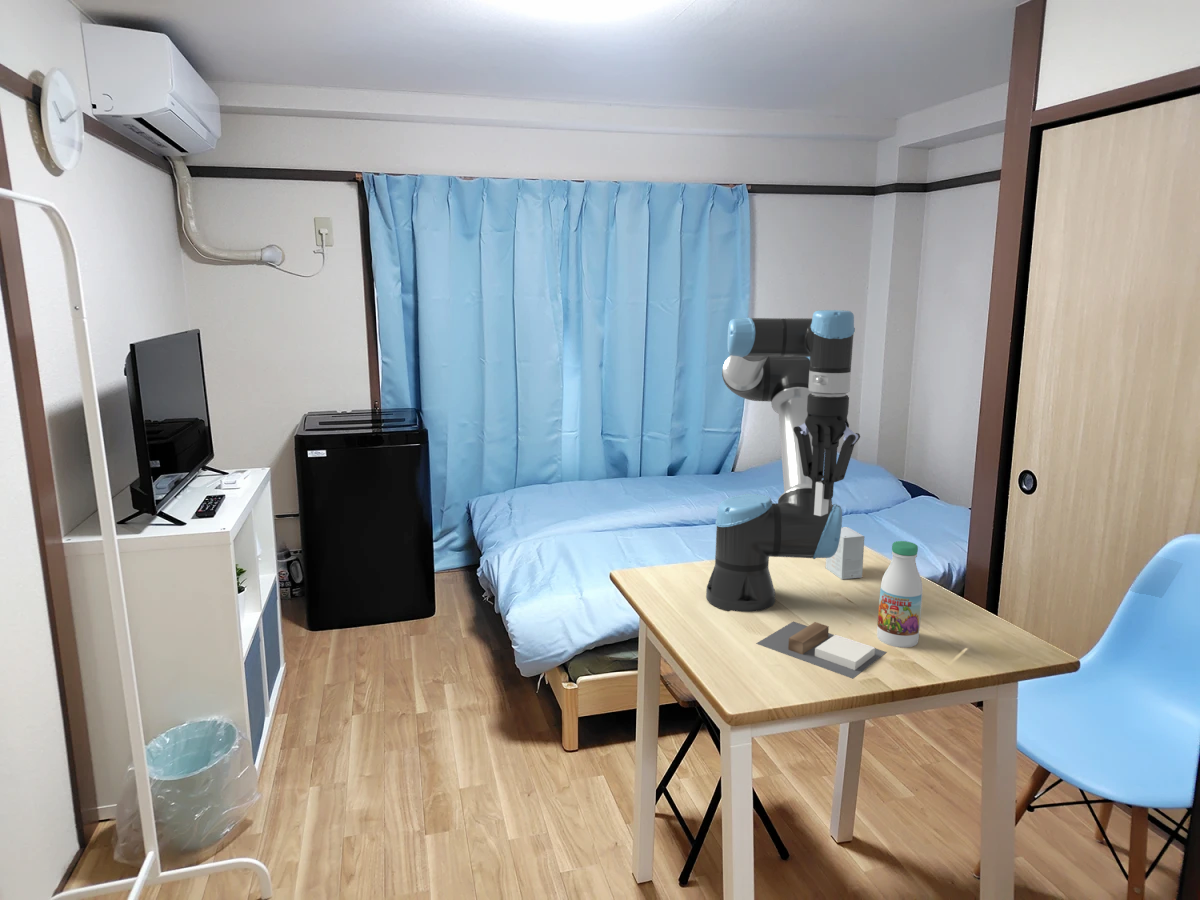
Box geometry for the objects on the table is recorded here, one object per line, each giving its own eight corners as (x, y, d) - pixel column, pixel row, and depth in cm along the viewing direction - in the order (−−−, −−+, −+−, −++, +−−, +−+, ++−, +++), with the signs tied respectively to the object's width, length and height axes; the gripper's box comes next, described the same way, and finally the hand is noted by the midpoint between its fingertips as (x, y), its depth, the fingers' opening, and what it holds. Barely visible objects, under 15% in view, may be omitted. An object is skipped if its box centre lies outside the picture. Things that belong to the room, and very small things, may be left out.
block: (788, 649, 149) (788, 637, 148) (814, 633, 156) (814, 621, 156) (802, 654, 147) (803, 642, 146) (828, 637, 154) (828, 626, 153)
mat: (756, 645, 152) (756, 643, 152) (793, 623, 162) (793, 621, 161) (852, 680, 138) (852, 678, 138) (886, 654, 148) (886, 652, 148)
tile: (815, 648, 146) (855, 662, 141) (835, 634, 152) (875, 647, 146) (814, 656, 146) (854, 670, 141) (834, 642, 152) (874, 655, 146)
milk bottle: (877, 629, 159) (884, 535, 154) (918, 635, 156) (927, 540, 151) (875, 645, 152) (882, 547, 147) (917, 652, 149) (926, 552, 144)
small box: (862, 578, 186) (865, 536, 184) (841, 580, 185) (843, 537, 183) (845, 566, 194) (848, 526, 192) (824, 568, 193) (827, 527, 191)
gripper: (787, 392, 148) (781, 511, 153) (850, 399, 139) (842, 525, 144) (808, 388, 153) (801, 503, 158) (870, 395, 144) (861, 517, 149)
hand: (820, 513), depth 151 cm, fingers closed
